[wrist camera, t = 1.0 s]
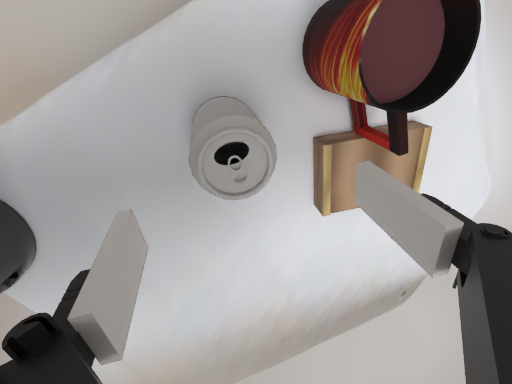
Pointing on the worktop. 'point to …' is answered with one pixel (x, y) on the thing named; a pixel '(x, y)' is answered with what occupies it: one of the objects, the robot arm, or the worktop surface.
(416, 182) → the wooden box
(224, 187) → the can
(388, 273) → the worktop surface
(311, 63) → the mug
